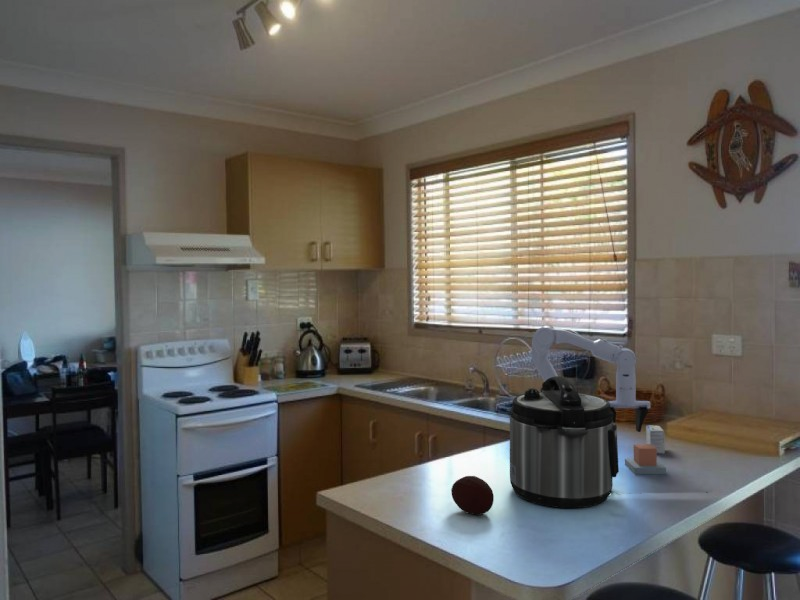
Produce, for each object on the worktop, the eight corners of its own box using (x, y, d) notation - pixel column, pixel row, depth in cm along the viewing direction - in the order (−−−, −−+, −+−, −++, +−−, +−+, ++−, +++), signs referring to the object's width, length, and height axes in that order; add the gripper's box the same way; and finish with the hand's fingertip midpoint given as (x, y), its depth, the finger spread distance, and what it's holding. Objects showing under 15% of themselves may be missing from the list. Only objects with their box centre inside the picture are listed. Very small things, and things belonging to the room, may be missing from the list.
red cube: (639, 465, 185) (639, 448, 185) (633, 460, 190) (633, 444, 190) (656, 465, 185) (656, 448, 184) (650, 460, 190) (650, 444, 189)
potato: (481, 524, 151) (480, 485, 150) (443, 511, 159) (442, 475, 159) (502, 514, 157) (502, 477, 157) (464, 502, 165) (464, 467, 165)
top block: (634, 474, 183) (634, 467, 183) (624, 465, 192) (624, 458, 192) (666, 474, 182) (666, 467, 182) (655, 465, 191) (655, 458, 191)
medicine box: (664, 457, 204) (664, 431, 203) (650, 457, 205) (650, 430, 204) (659, 451, 211) (659, 425, 211) (645, 450, 212) (645, 425, 212)
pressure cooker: (596, 523, 151) (595, 390, 150) (489, 500, 167) (488, 381, 166) (631, 488, 175) (631, 374, 174) (536, 471, 192) (535, 367, 191)
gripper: (606, 390, 192) (606, 434, 193) (654, 389, 192) (654, 434, 192) (599, 386, 200) (599, 429, 200) (645, 385, 199) (645, 428, 200)
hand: (625, 431), depth 197 cm, fingers open, 7 cm apart
